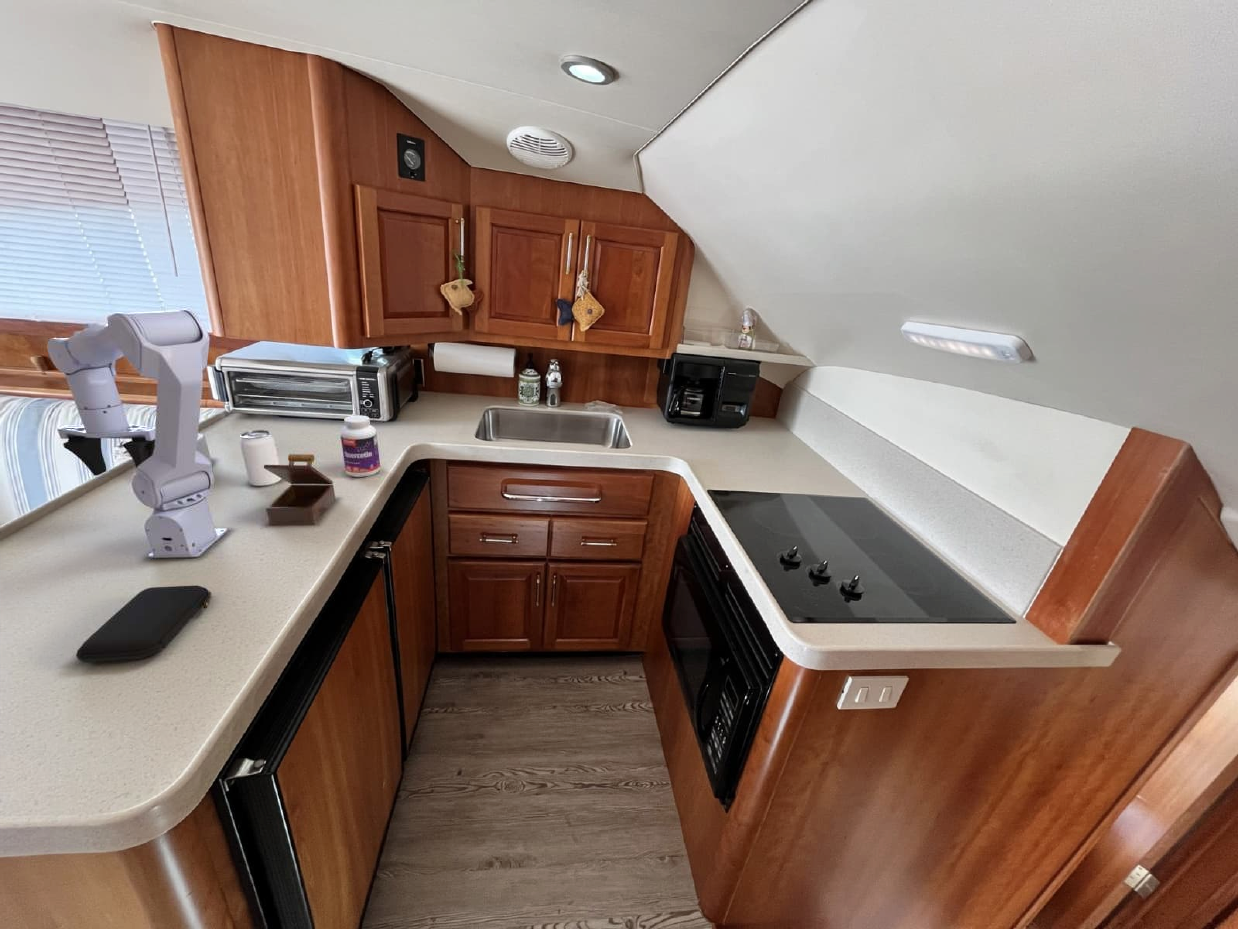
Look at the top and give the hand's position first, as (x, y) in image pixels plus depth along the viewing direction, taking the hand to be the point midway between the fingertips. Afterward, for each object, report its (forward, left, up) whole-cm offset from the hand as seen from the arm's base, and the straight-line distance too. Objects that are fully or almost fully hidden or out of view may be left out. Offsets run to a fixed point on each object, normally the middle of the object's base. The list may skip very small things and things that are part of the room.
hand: (123, 473), depth 93 cm
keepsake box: (+4, -29, -10) cm, 31 cm away
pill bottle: (+25, -34, -11) cm, 44 cm away
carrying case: (-32, -23, -11) cm, 41 cm away
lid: (+5, -29, -3) cm, 29 cm away
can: (+19, -14, -11) cm, 26 cm away
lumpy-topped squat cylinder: (+25, +8, -11) cm, 28 cm away
